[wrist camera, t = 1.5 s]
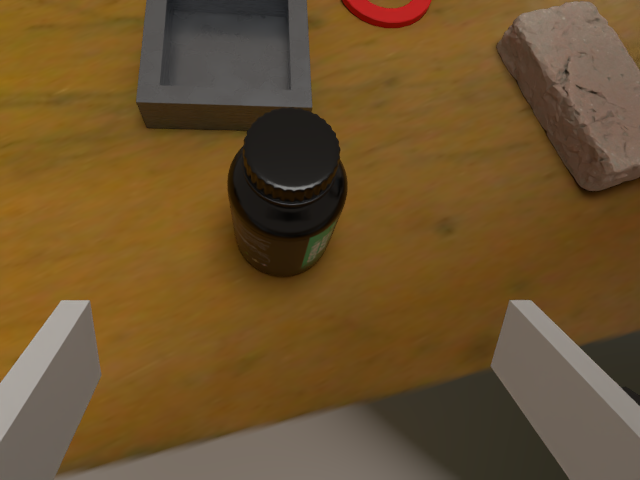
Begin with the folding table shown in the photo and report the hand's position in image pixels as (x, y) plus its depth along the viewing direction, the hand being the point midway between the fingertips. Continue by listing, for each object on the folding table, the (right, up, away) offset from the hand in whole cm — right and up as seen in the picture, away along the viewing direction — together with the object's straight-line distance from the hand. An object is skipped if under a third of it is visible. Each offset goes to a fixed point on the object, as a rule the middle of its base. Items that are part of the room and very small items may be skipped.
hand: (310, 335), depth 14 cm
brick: (+23, +15, +27) cm, 38 cm away
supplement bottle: (-2, +3, +19) cm, 20 cm away
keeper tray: (-7, +18, +23) cm, 30 cm away
